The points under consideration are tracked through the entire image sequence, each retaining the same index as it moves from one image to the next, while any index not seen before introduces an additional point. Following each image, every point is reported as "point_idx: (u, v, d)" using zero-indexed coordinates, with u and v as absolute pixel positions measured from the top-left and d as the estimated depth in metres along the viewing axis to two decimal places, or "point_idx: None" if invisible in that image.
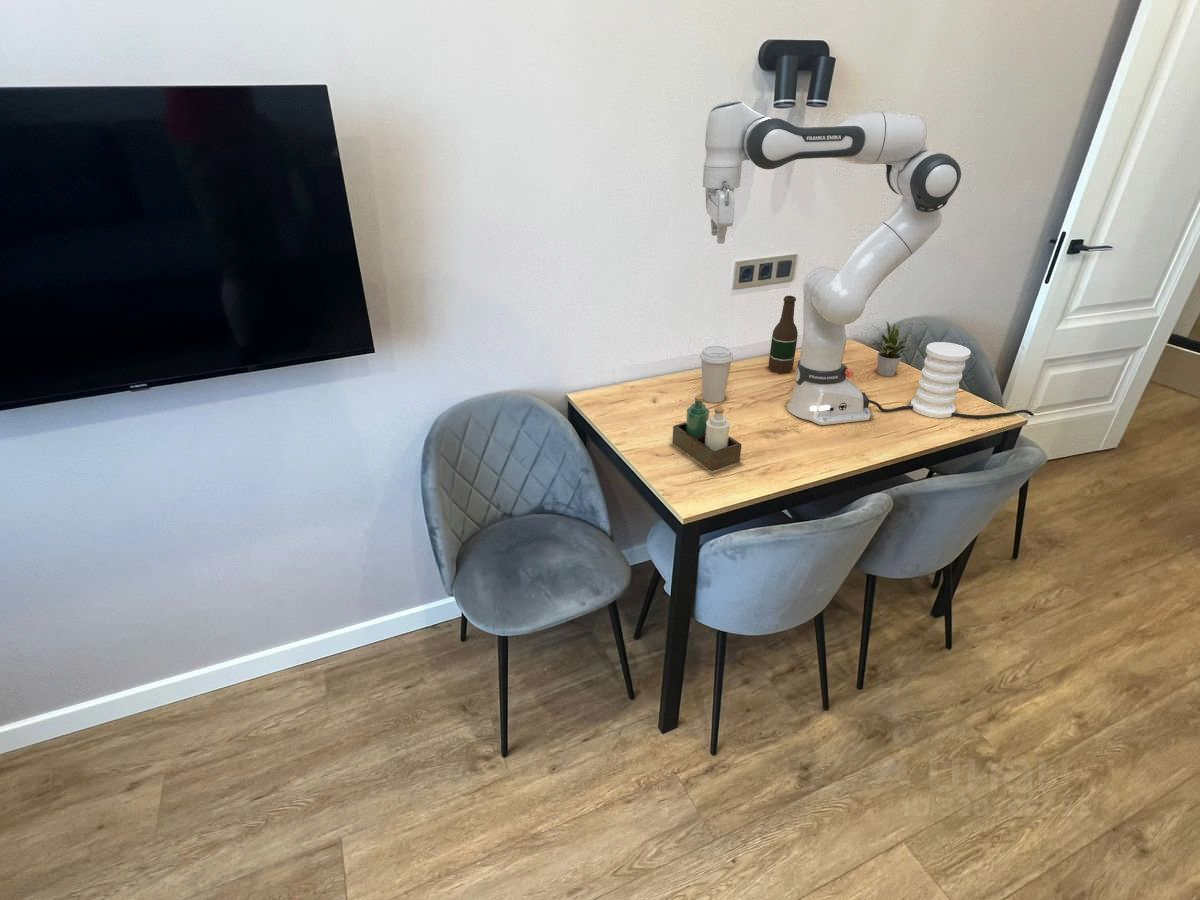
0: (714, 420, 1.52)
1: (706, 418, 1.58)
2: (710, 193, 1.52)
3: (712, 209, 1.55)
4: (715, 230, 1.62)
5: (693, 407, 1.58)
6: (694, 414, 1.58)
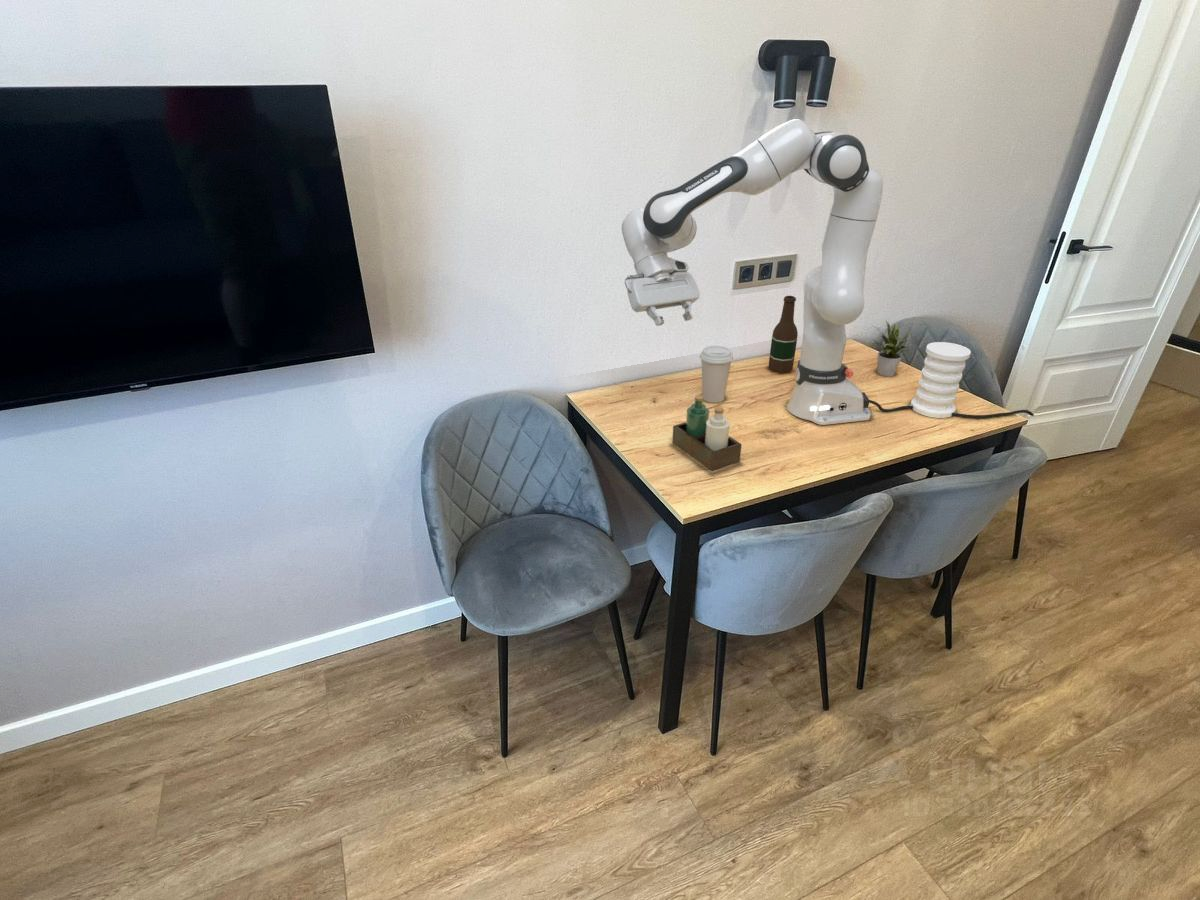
0: (714, 420, 1.52)
1: (706, 418, 1.58)
2: None
3: None
4: (685, 315, 1.62)
5: (693, 407, 1.58)
6: (694, 414, 1.58)
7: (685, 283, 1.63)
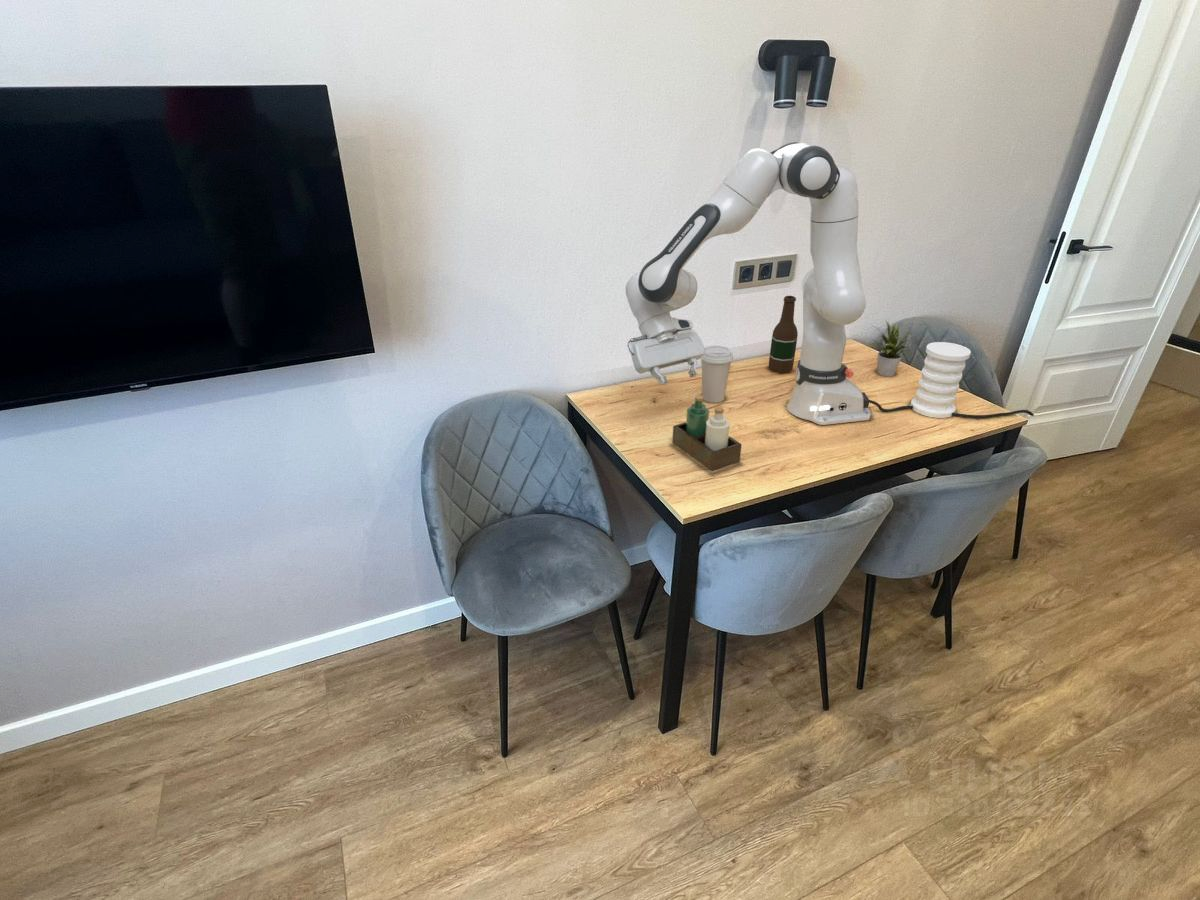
0: (714, 420, 1.52)
1: (706, 418, 1.58)
2: None
3: None
4: (690, 372, 1.65)
5: (693, 407, 1.58)
6: (694, 414, 1.58)
7: (690, 340, 1.66)
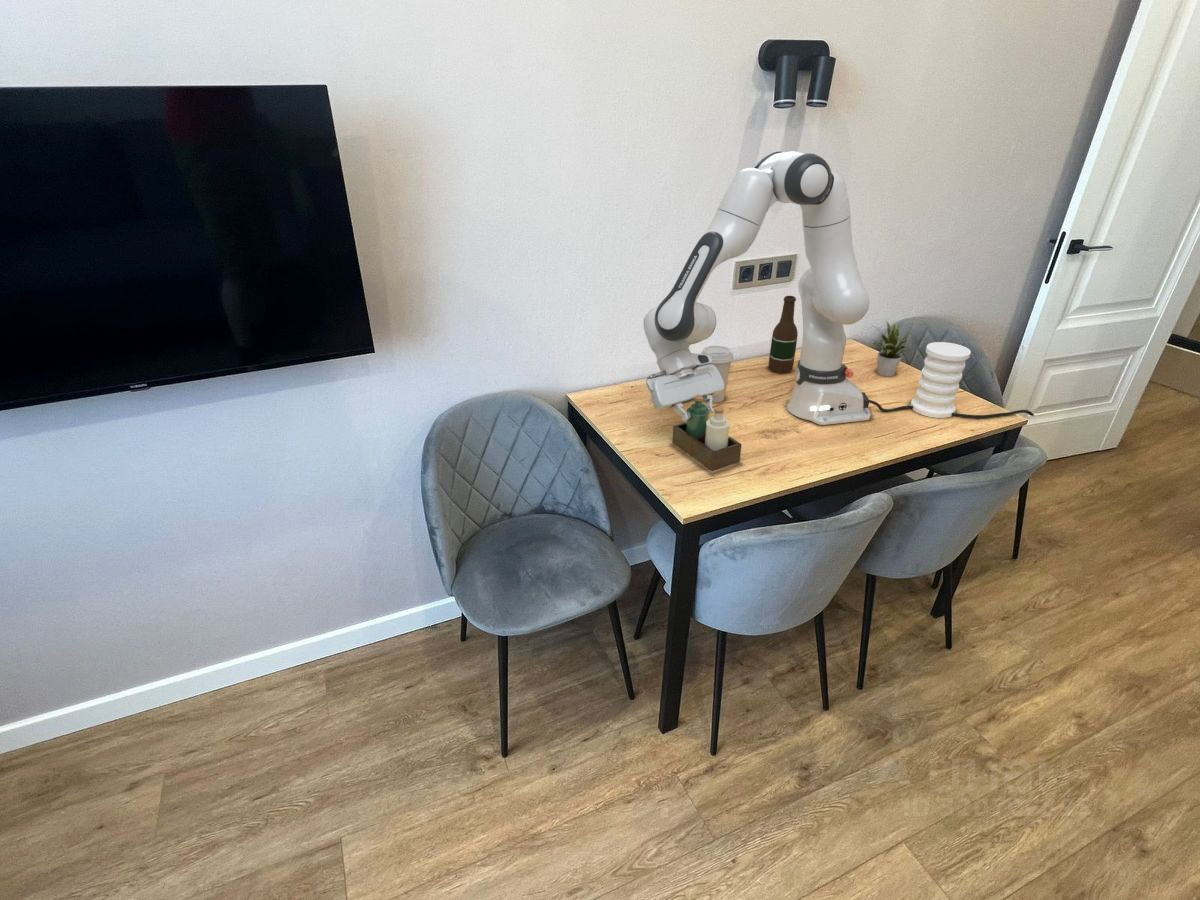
0: (714, 420, 1.52)
1: (706, 418, 1.58)
2: None
3: None
4: None
5: (692, 407, 1.58)
6: (694, 414, 1.58)
7: (709, 376, 1.63)
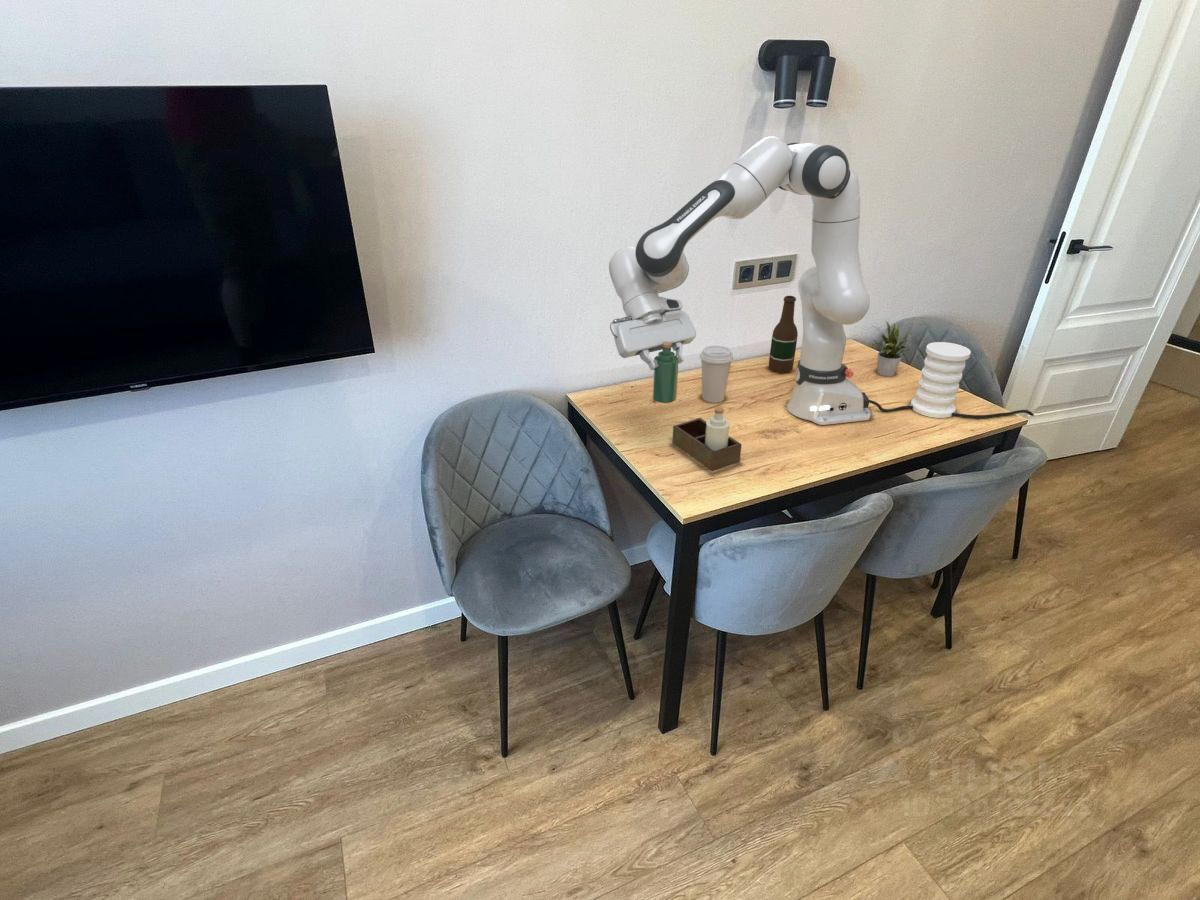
0: (714, 420, 1.52)
1: (675, 366, 1.46)
2: None
3: None
4: None
5: (660, 355, 1.46)
6: (662, 362, 1.46)
7: (679, 322, 1.51)
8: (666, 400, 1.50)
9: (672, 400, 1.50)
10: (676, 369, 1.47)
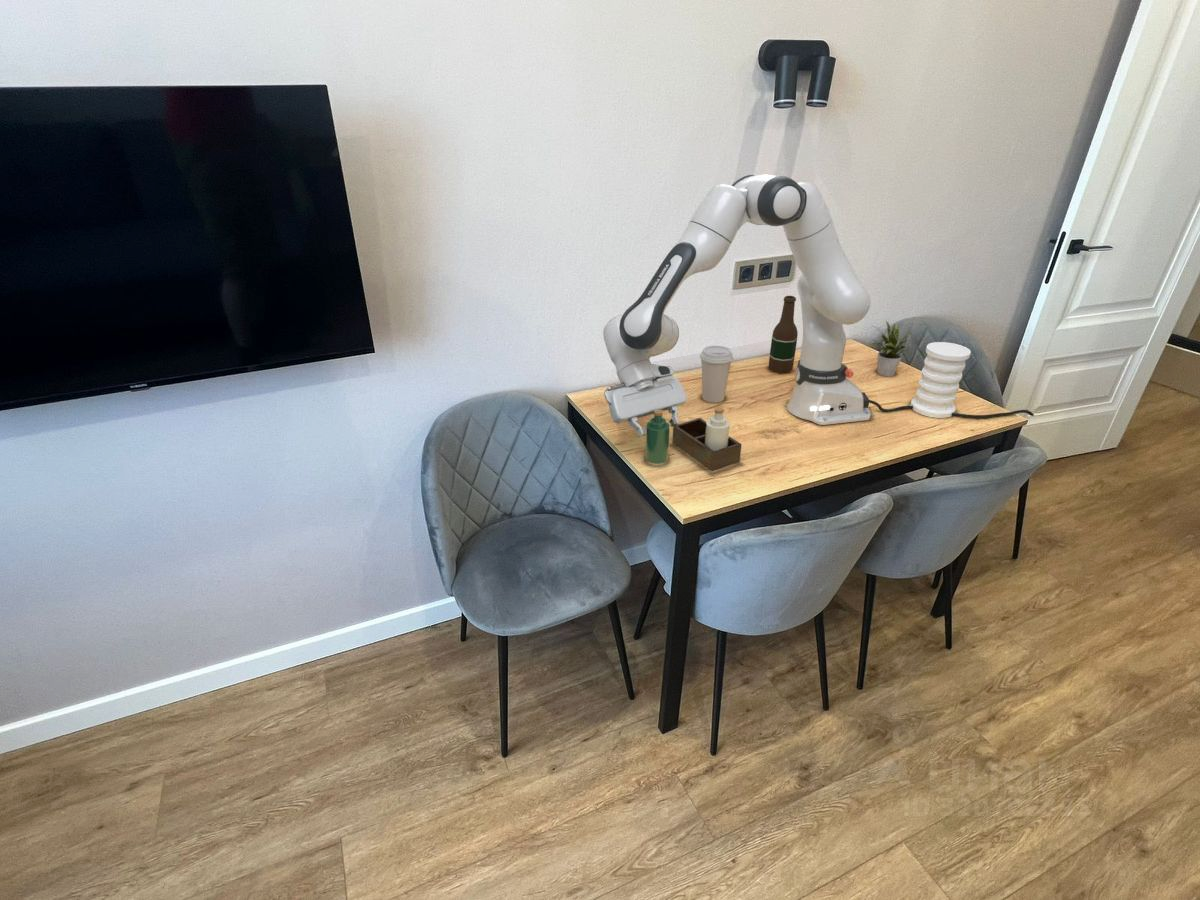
0: (714, 420, 1.52)
1: (666, 433, 1.54)
2: None
3: None
4: (671, 421, 1.57)
5: (652, 422, 1.54)
6: (653, 429, 1.53)
7: (670, 387, 1.58)
8: (658, 463, 1.57)
9: None
10: (667, 435, 1.55)
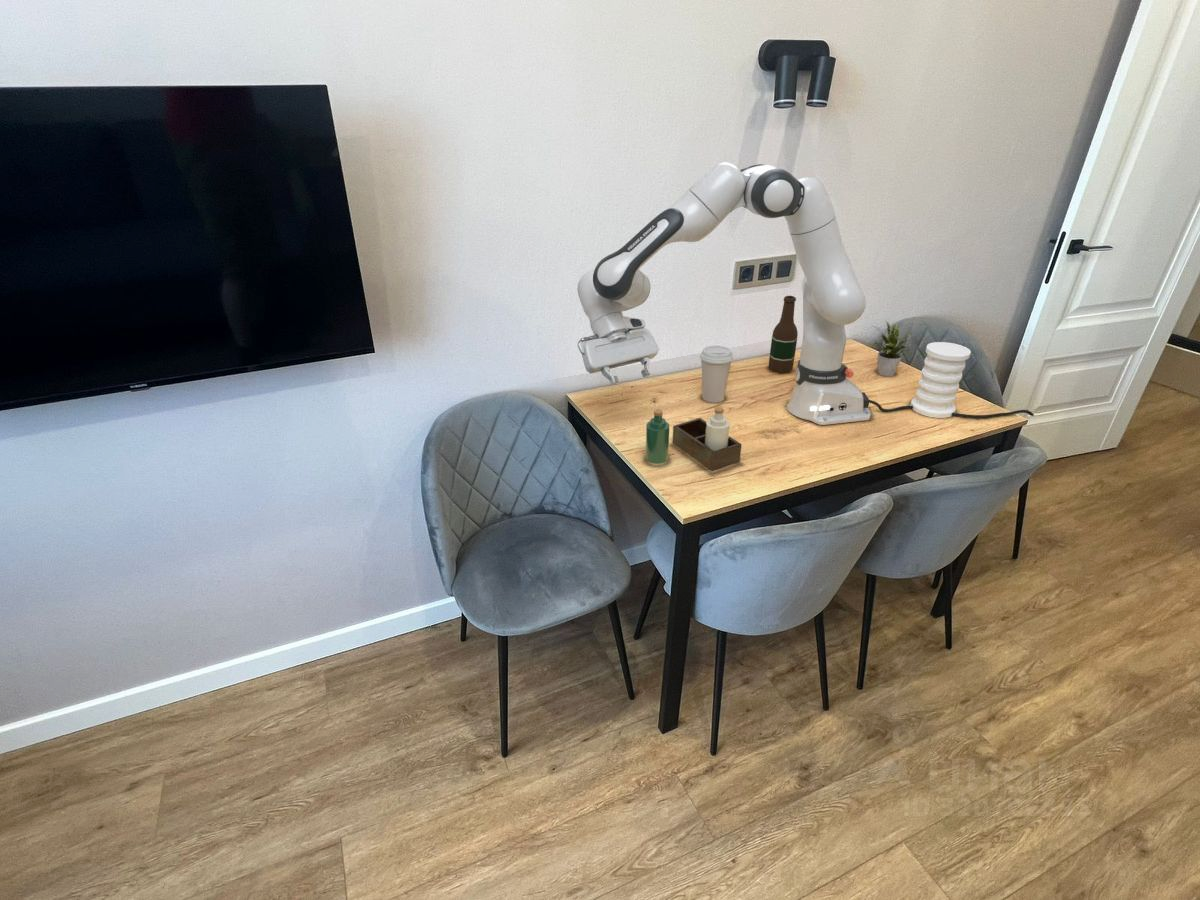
0: (714, 420, 1.52)
1: (666, 433, 1.54)
2: None
3: None
4: (643, 372, 1.63)
5: (652, 422, 1.54)
6: (653, 429, 1.53)
7: (642, 339, 1.64)
8: (658, 463, 1.57)
9: None
10: (667, 435, 1.55)
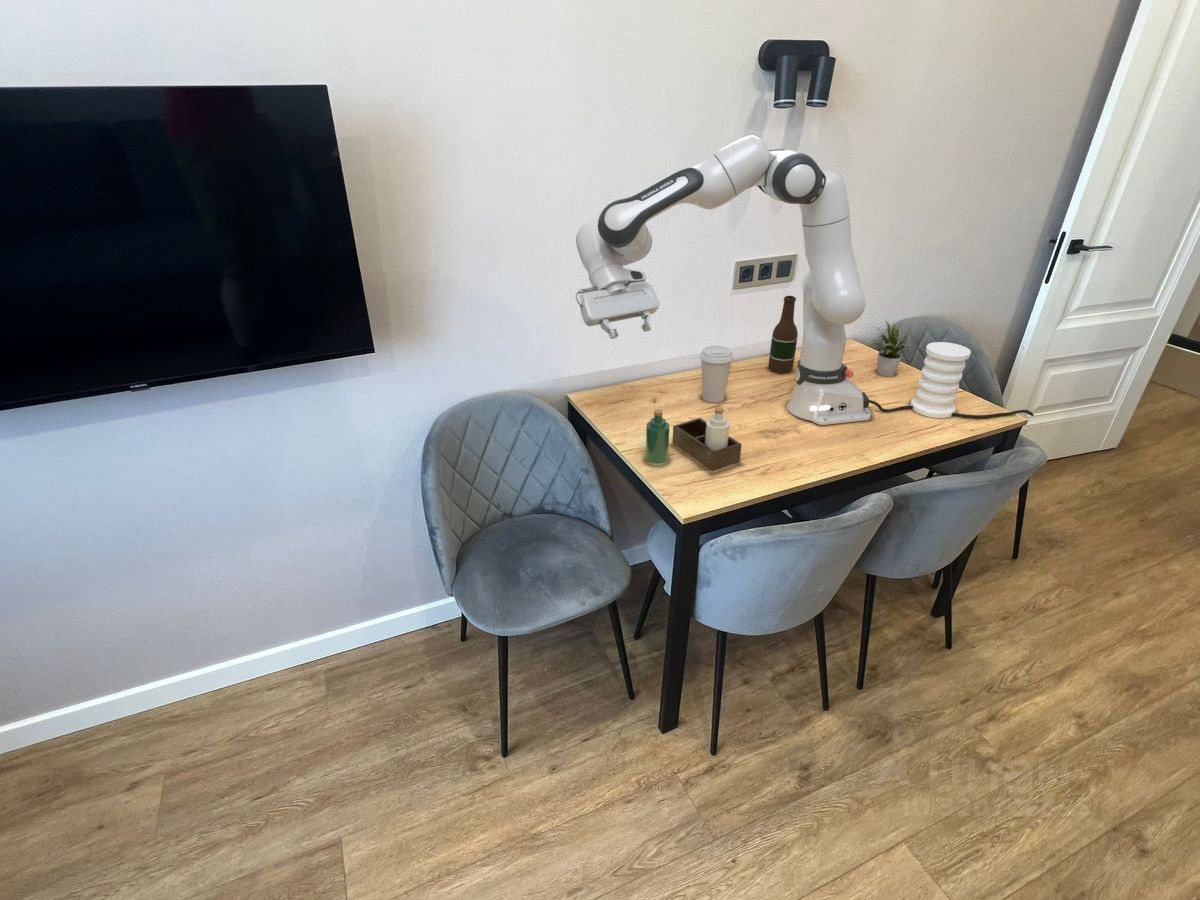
0: (714, 420, 1.52)
1: (666, 433, 1.54)
2: None
3: None
4: (643, 326, 1.57)
5: (652, 422, 1.54)
6: (653, 429, 1.53)
7: (643, 293, 1.58)
8: (658, 463, 1.57)
9: None
10: (667, 435, 1.55)
